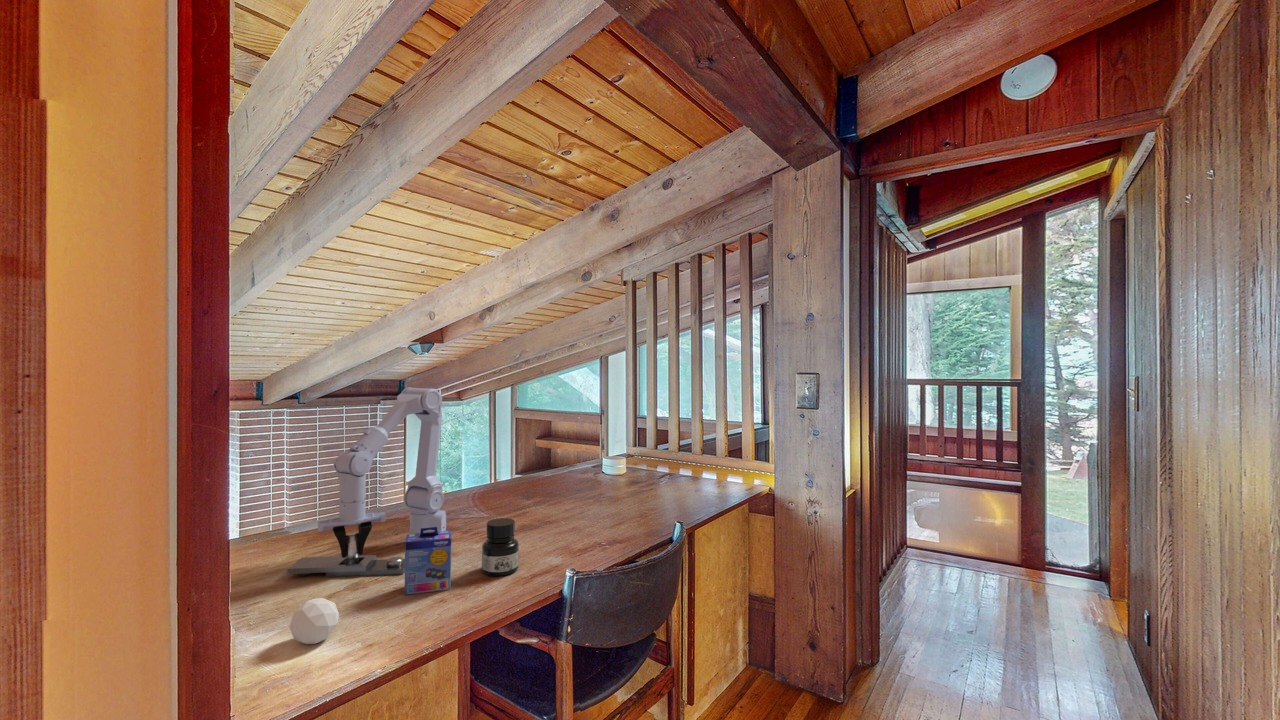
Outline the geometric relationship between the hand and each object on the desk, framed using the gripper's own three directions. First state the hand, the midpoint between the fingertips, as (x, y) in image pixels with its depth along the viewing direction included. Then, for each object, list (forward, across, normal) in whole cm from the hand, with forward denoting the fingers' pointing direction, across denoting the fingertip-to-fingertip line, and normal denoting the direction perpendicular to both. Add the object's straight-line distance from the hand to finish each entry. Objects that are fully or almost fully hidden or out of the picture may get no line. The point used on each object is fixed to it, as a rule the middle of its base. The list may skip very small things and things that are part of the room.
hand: (352, 554), depth 131 cm
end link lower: (+4, -4, +2) cm, 6 cm away
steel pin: (+3, 0, 0) cm, 3 cm away
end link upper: (+4, +4, -2) cm, 6 cm away
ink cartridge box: (+4, -13, +20) cm, 25 cm away
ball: (+4, +10, +32) cm, 34 cm away
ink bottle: (+4, -30, +19) cm, 36 cm away
